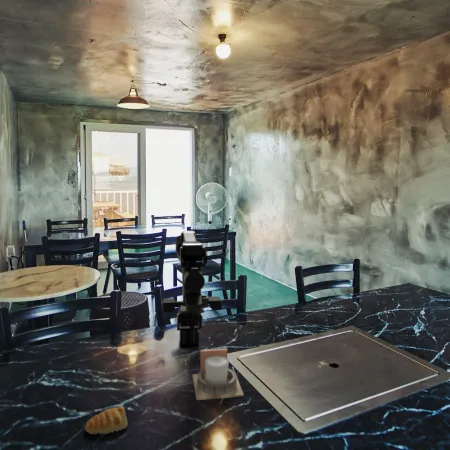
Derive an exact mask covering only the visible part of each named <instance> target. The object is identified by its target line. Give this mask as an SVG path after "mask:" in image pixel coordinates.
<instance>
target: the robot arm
mask: <svg viewBox="0 0 450 450" xmlns="http://www.w3.org/2000/svg"><path fill="white" fill-rule="evenodd" d="M175 252H176V253H177V259H178V261H179V262H180V268H181V280H182V281H181V282H182V283H181V284H182V286H181V287H182V300H181V301H180V300H179V301H177V300H175V297H167V298H166V297H165V298H163V299H162V301H161V307H162V308H161V311H162V313H173V312H174V311H175V310H176V309H177V308H178V313H176V331H177V332H179V340H178V343H179V349H191V348H193V349H194V348H199V343H200V330H202V328H203V318H204V316H203V315H202V314H203V313H205V309H206V308H208V307H209V308H210V309H211V310H212V311H219V310H220V311H221V310H223V301H222V299H221V298H220V296H208V294H206V295H204V294H203V295H202V289H203V288H204V286H205V285H206V284H205V283H206V280H205V277H204V275H203V273H202V268H206V266H207V264H208V256H207V255H208V254H207V250H206V247H205V246H203V243H202V242H201V241H199V238H198V237H197V236H196V232H195V231H194V230H183V231H180V235H179V236H177V237H176V238H175Z"/></svg>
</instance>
